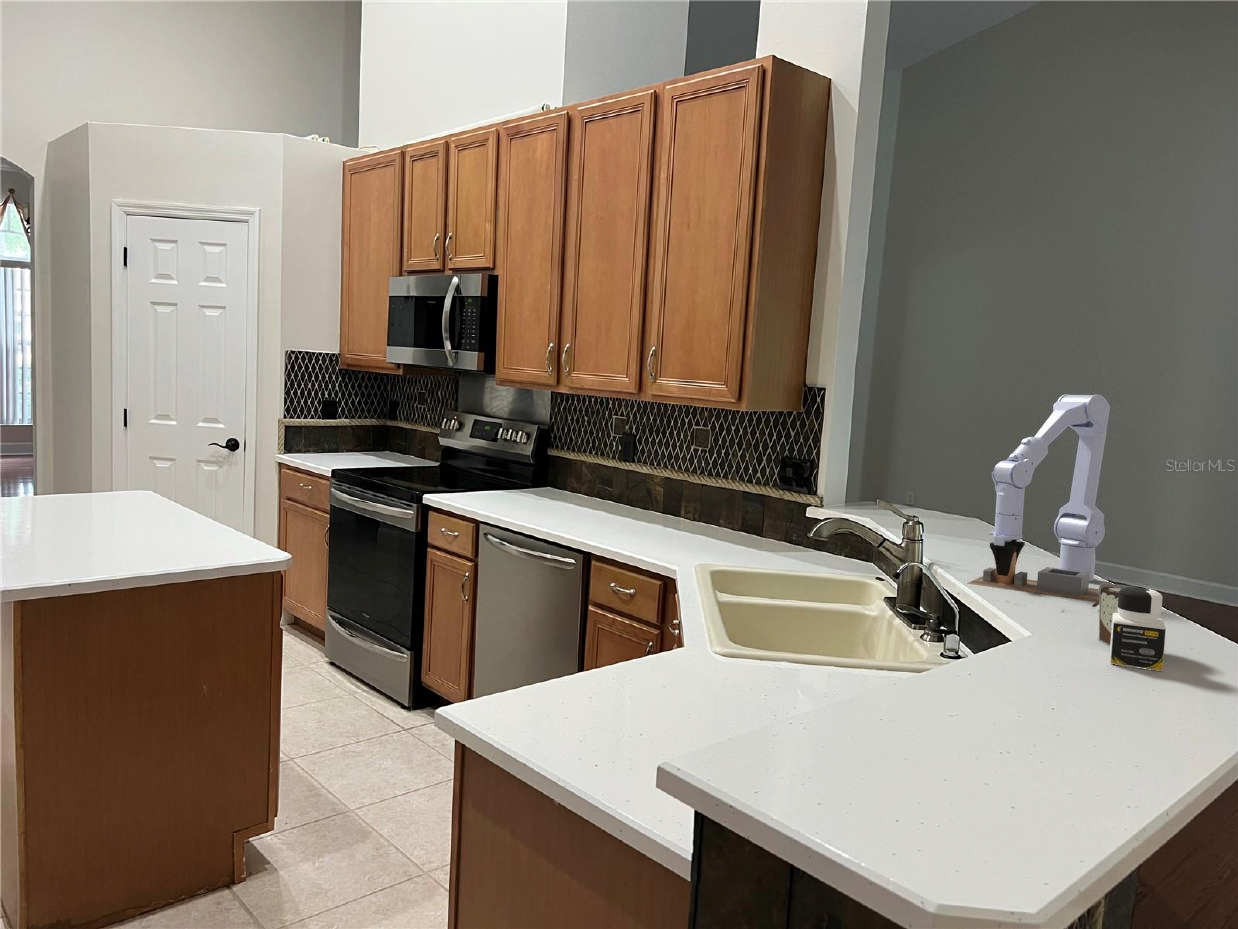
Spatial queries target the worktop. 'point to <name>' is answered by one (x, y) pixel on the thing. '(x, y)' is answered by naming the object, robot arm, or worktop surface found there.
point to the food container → (1107, 609)
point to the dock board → (1029, 586)
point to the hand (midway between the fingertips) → (1005, 574)
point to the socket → (1063, 581)
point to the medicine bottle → (1138, 630)
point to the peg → (1011, 575)
